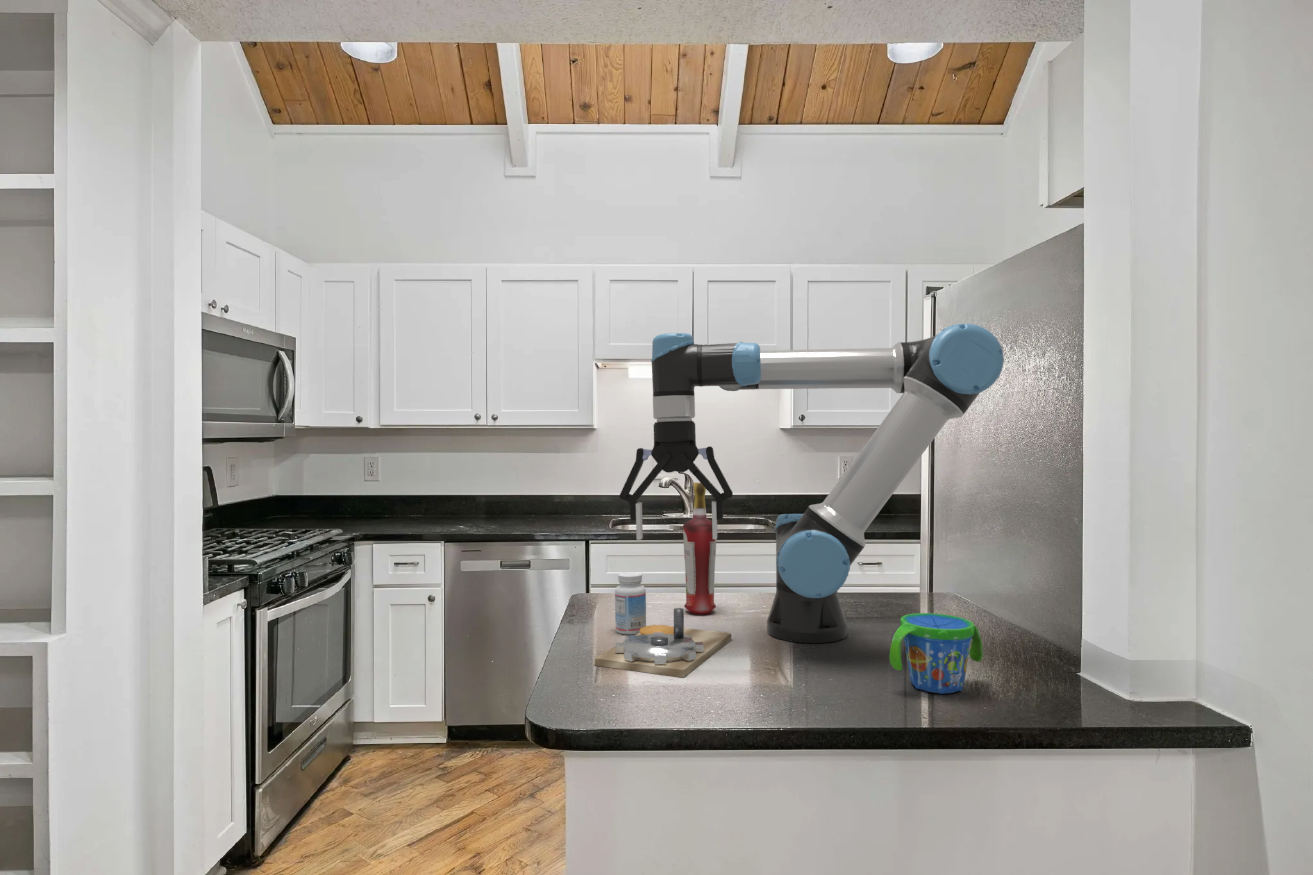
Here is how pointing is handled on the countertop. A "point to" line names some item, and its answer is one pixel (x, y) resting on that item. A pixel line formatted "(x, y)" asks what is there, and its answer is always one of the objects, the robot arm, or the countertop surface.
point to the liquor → (699, 557)
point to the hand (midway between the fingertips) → (677, 538)
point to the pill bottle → (630, 603)
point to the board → (676, 668)
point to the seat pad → (657, 629)
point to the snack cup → (936, 650)
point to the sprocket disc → (661, 645)
